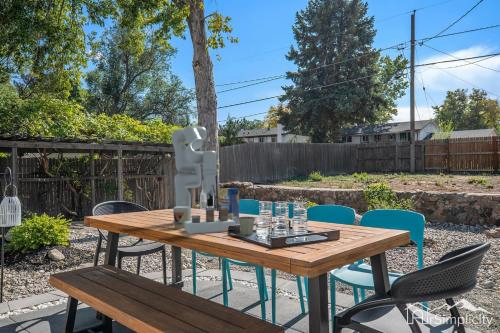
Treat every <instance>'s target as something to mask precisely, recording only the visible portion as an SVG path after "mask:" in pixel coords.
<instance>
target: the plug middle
mask: <svg viewBox="0 0 500 333" xmlns="http://www.w3.org/2000/svg"><path fill="white" fill-rule="evenodd" d="M205 220H206V222H214V220H215V207H205Z"/></svg>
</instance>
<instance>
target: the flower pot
mask: <svg viewBox="0 0 500 333" xmlns="http://www.w3.org/2000/svg"><path fill="white" fill-rule="evenodd" d="M256 218H257V217H255V216H239V217H238V219H239V224H238V225H239V229H240V235H242V234H243V235H242V236H247V235H248V236H252V235H253V234H254V227H255V221H256ZM251 234H252V235H251Z"/></svg>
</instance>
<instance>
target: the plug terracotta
mask: <svg viewBox="0 0 500 333" xmlns="http://www.w3.org/2000/svg"><path fill="white" fill-rule="evenodd" d="M219 209H220V221H228V207H219V206H218V210H219Z"/></svg>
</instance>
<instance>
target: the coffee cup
mask: <svg viewBox="0 0 500 333" xmlns="http://www.w3.org/2000/svg"><path fill="white" fill-rule="evenodd" d="M172 210H173V212H172V213H173V226H174V228H175V229H185V224H184V222H186V221H188V218H189V207H187V206H178V207H176V206H173V208H172Z"/></svg>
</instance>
